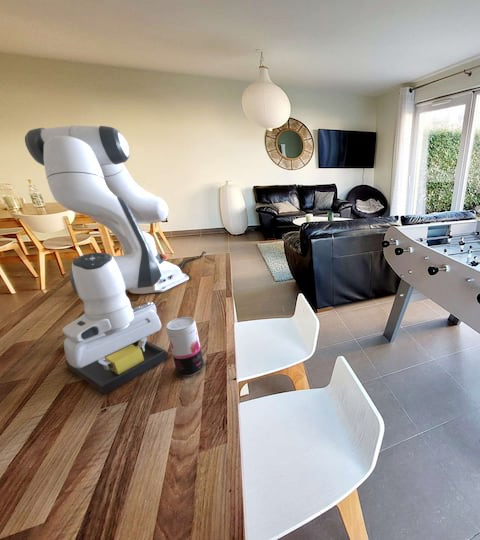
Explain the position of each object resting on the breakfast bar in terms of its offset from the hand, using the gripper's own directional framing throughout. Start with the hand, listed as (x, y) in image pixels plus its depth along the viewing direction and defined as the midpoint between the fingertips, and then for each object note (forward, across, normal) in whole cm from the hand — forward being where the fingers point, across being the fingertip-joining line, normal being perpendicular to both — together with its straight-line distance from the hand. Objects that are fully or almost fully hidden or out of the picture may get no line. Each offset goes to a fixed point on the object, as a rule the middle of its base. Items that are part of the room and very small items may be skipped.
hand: (125, 359), depth 78 cm
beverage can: (+3, -8, +15) cm, 17 cm away
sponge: (+2, 0, 0) cm, 2 cm away
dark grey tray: (+3, 0, -4) cm, 5 cm away
